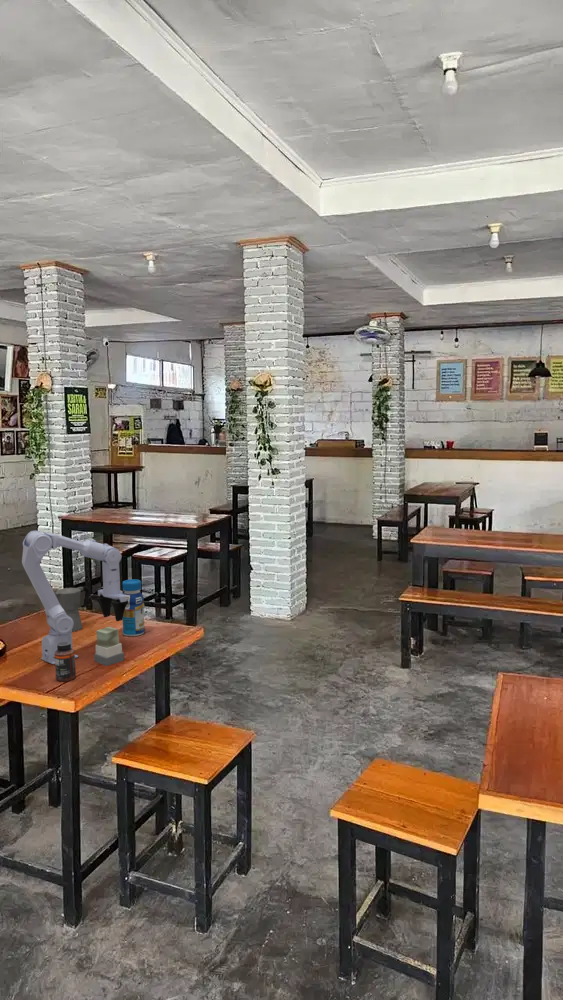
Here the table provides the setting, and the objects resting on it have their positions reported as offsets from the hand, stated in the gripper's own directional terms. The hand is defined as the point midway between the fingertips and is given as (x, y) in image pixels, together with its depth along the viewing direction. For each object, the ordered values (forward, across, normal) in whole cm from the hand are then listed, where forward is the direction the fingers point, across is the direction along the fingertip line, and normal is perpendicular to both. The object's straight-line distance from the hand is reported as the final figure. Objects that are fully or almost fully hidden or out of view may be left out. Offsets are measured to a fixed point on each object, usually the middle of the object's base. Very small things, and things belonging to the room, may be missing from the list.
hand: (112, 618), depth 246 cm
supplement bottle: (+11, -14, +27) cm, 32 cm away
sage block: (+5, -10, +9) cm, 15 cm away
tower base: (+11, -10, +9) cm, 18 cm away
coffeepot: (+11, +31, -2) cm, 33 cm away
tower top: (+8, -10, +9) cm, 16 cm away
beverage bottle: (+11, +8, -14) cm, 19 cm away
